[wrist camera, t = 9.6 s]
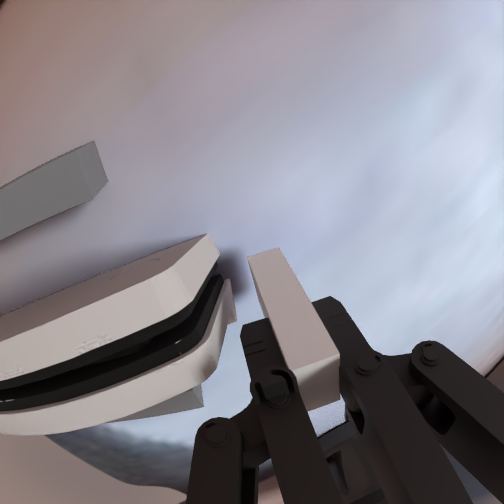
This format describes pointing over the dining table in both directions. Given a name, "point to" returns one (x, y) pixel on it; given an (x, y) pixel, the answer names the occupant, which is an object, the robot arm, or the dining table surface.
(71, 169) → the bracket
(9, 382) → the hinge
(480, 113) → the dining table surface
